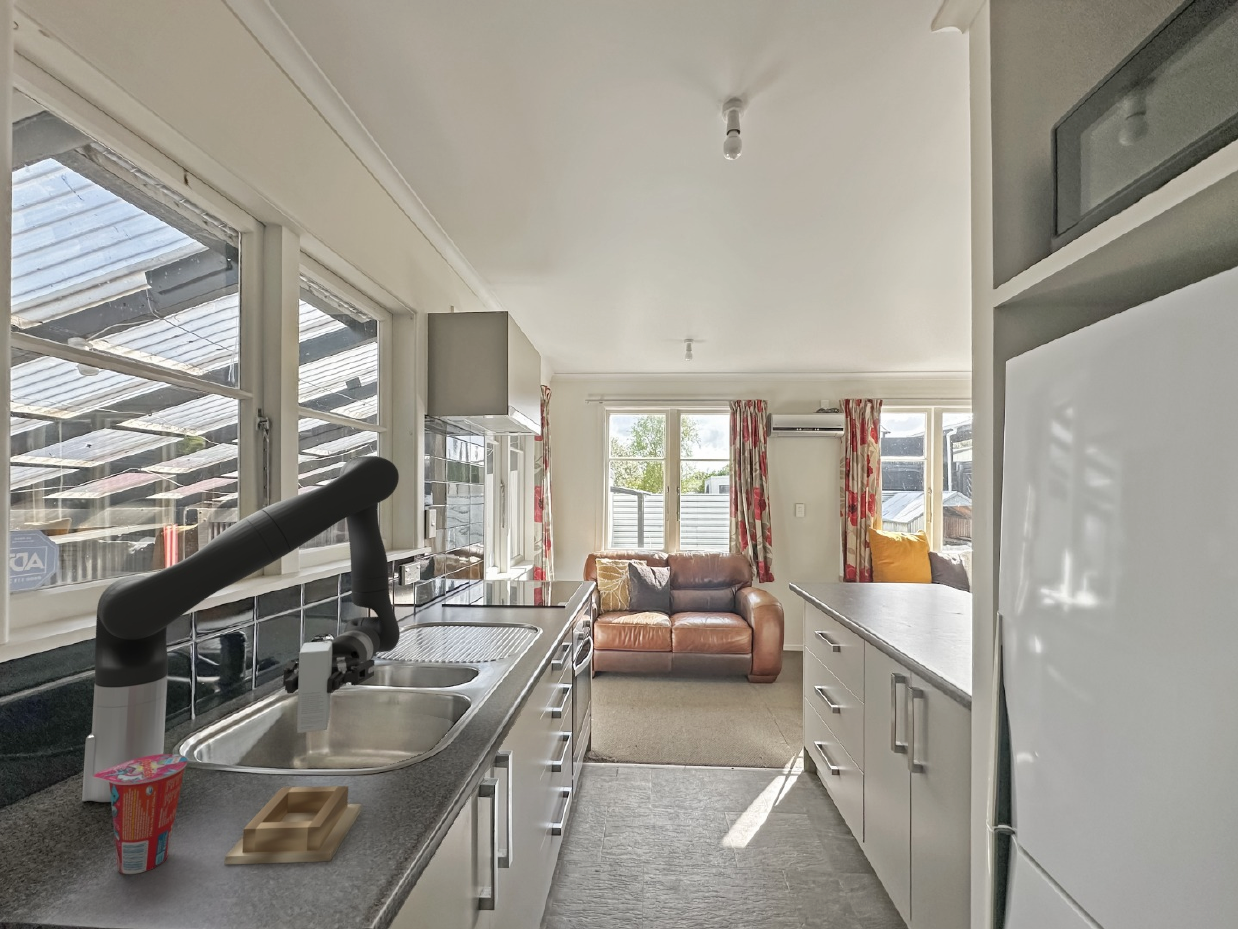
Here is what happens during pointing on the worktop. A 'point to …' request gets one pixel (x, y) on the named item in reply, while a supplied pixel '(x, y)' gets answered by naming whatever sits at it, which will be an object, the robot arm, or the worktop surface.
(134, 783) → the cup
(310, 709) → the skincare box
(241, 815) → the worktop surface
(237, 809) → the worktop surface
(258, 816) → the socket holder
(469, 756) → the worktop surface
